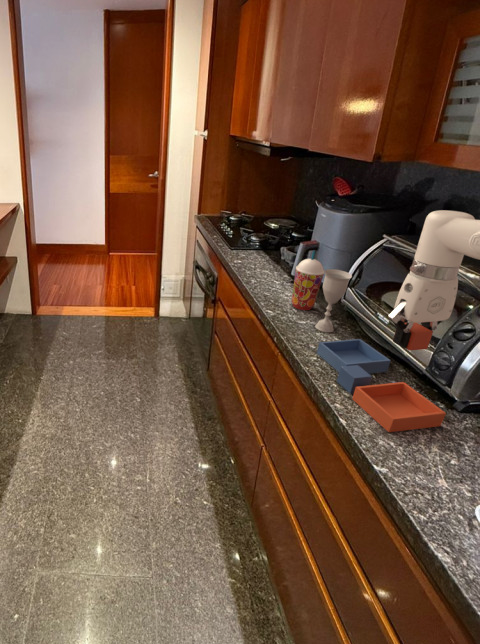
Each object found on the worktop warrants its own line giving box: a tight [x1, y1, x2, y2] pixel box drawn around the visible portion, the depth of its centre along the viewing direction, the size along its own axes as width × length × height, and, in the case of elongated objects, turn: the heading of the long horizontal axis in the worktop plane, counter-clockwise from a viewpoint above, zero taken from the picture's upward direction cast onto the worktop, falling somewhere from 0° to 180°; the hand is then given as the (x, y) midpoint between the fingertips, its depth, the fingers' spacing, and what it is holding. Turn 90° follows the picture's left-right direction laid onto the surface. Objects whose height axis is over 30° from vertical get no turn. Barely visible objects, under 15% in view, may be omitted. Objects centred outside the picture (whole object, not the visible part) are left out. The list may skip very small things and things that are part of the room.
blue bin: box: [316, 338, 391, 375], centre depth 101 cm, size 12×10×4 cm
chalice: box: [314, 268, 353, 333], centre depth 115 cm, size 7×7×18 cm
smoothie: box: [291, 250, 325, 311], centre depth 127 cm, size 8×8×20 cm
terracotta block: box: [394, 322, 434, 352], centre depth 88 cm, size 4×4×4 cm
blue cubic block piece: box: [336, 365, 373, 395], centre depth 92 cm, size 4×4×4 cm
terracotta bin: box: [351, 381, 447, 433], centre depth 84 cm, size 12×10×4 cm
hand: (410, 343), depth 88 cm, fingers closed on terracotta block, 4 cm apart
